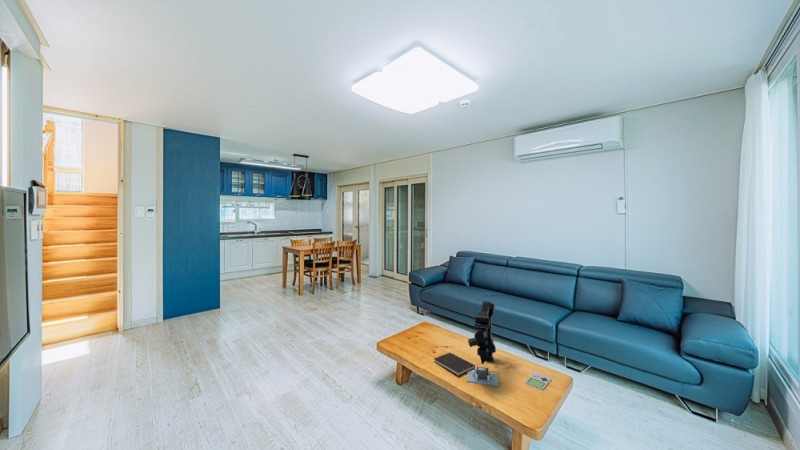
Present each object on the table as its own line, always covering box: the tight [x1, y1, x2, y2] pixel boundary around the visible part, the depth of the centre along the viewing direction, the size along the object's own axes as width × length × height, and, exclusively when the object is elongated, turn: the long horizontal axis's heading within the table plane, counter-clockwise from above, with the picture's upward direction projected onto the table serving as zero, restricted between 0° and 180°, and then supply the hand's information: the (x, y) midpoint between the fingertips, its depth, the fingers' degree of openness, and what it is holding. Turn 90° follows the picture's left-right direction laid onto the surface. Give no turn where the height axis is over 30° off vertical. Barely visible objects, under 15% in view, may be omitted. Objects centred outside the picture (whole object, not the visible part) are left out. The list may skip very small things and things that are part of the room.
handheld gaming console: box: [525, 372, 552, 391], centre depth 169 cm, size 10×2×15 cm
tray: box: [466, 366, 499, 387], centre depth 172 cm, size 12×18×4 cm, turn 75°
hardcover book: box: [433, 352, 476, 377], centre depth 187 cm, size 16×23×2 cm
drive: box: [475, 366, 489, 380], centre depth 172 cm, size 4×7×5 cm, turn 75°
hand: (482, 360), depth 172 cm, fingers open, 9 cm apart
